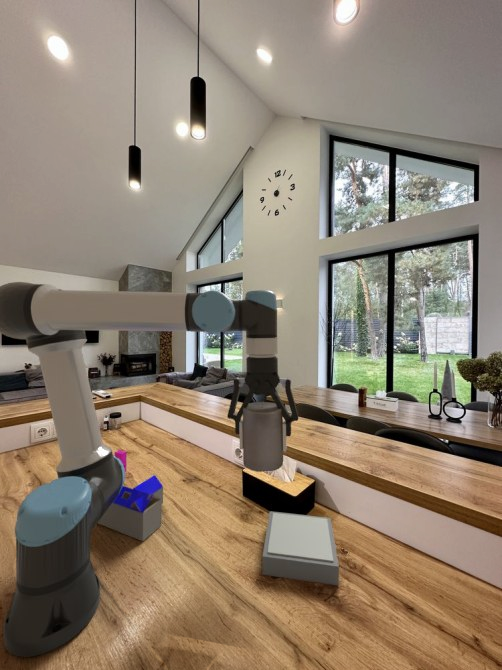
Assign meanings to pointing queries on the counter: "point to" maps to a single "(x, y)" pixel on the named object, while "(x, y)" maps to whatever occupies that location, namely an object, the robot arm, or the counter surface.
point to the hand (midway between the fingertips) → (263, 448)
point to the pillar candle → (262, 437)
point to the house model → (136, 510)
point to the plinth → (300, 548)
